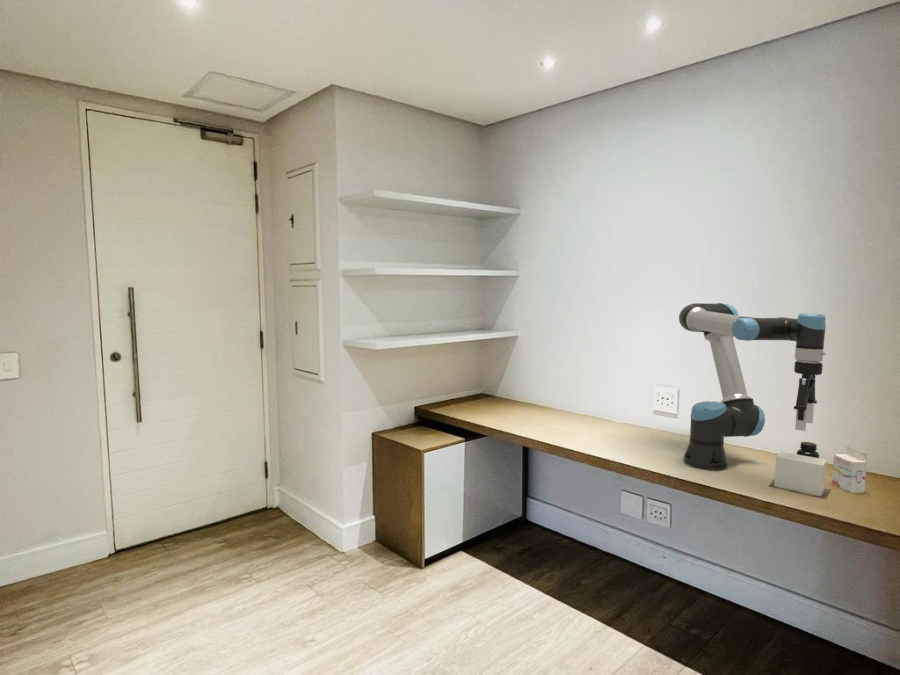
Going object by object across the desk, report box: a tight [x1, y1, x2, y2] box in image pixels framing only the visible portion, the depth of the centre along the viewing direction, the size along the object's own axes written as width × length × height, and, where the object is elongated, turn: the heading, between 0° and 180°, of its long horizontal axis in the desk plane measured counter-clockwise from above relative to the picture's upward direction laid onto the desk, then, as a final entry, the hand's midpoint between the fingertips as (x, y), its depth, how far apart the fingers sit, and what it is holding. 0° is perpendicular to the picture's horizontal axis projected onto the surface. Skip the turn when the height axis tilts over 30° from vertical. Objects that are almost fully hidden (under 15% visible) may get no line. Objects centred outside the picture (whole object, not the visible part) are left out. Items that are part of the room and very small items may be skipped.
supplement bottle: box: [796, 441, 820, 459], centre depth 196 cm, size 7×7×12 cm
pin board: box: [767, 478, 831, 500], centre depth 181 cm, size 16×11×6 cm
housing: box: [773, 451, 828, 496], centre depth 180 cm, size 13×8×10 cm, turn 49°
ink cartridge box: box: [831, 445, 868, 494], centre depth 181 cm, size 9×5×15 cm, turn 5°
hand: (804, 426), depth 179 cm, fingers open, 13 cm apart
